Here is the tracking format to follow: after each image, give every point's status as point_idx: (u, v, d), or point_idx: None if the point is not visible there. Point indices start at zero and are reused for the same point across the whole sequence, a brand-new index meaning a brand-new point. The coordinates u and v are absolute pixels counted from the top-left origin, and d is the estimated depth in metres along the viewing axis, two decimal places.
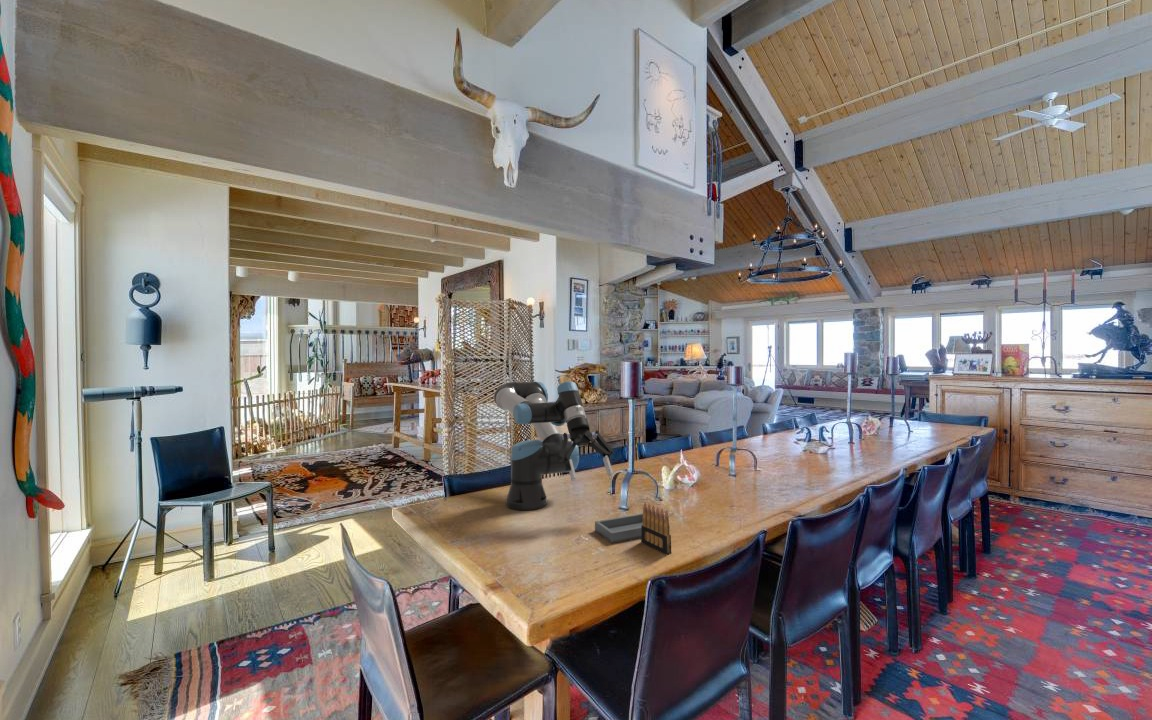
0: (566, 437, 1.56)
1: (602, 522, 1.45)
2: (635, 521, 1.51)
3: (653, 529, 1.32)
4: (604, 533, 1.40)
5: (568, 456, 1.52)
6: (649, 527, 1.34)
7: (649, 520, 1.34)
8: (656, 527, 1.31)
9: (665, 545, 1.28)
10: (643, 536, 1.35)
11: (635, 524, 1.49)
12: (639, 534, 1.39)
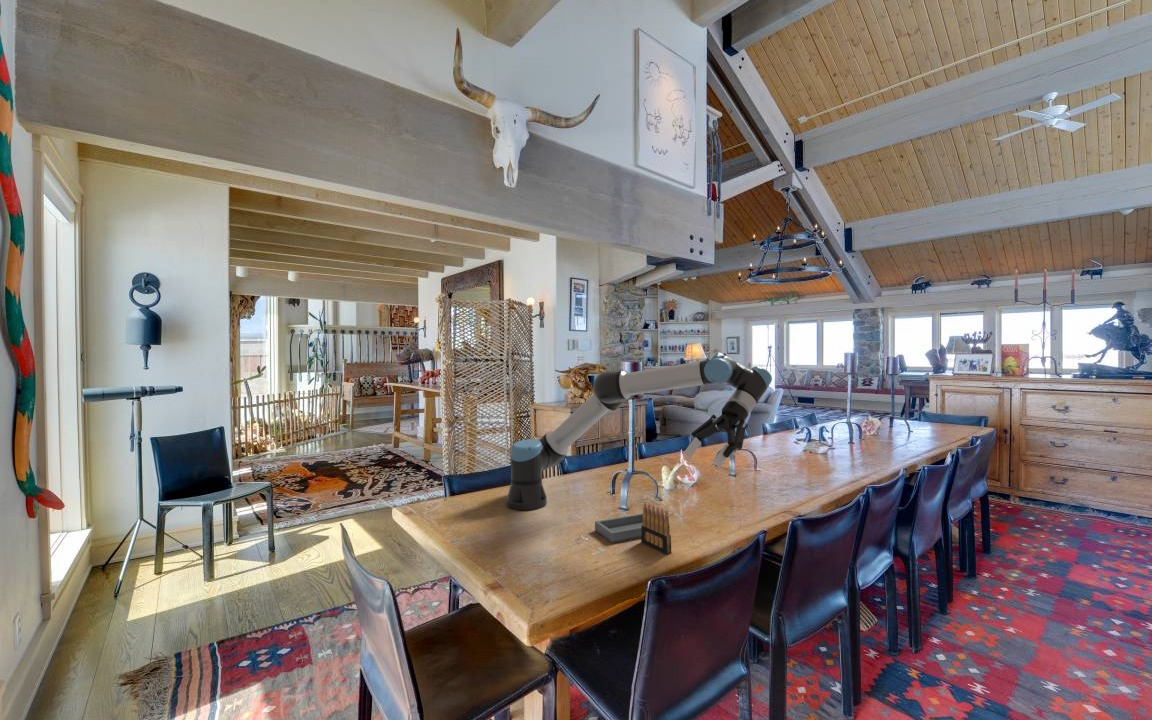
0: None
1: (602, 522, 1.45)
2: (635, 521, 1.51)
3: (653, 529, 1.32)
4: (604, 533, 1.40)
5: None
6: (649, 527, 1.34)
7: (649, 520, 1.34)
8: (656, 527, 1.31)
9: (665, 545, 1.28)
10: (643, 536, 1.35)
11: (635, 524, 1.49)
12: (639, 534, 1.39)
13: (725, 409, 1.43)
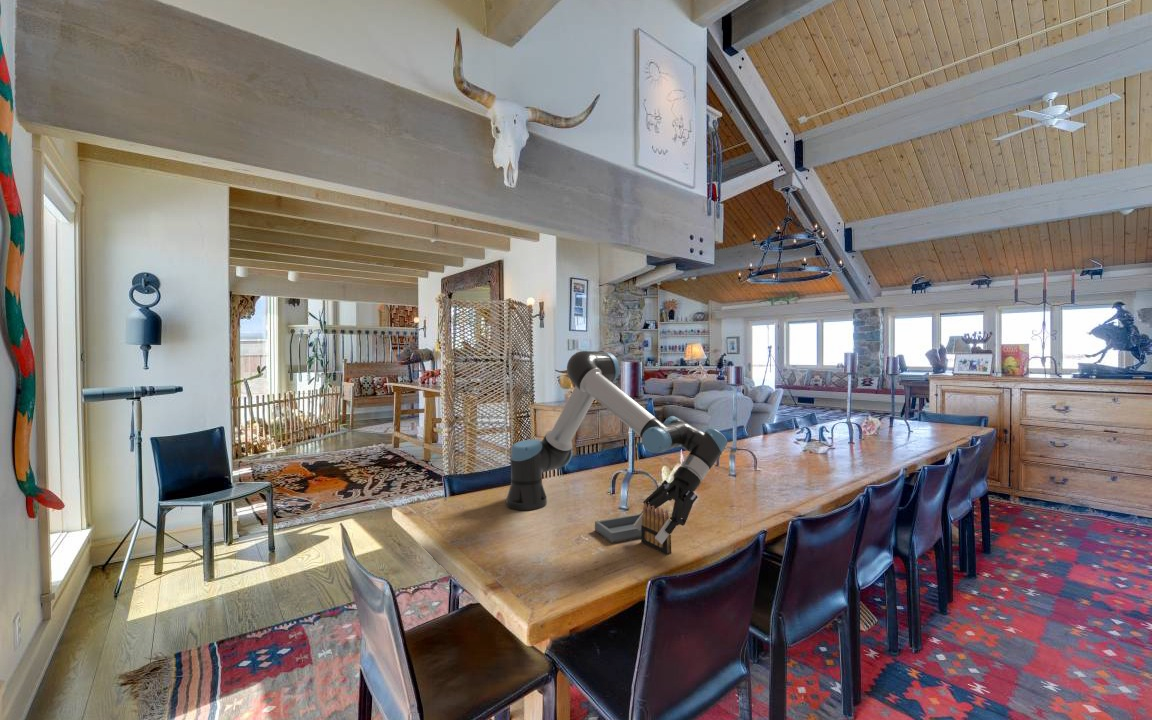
0: None
1: (602, 522, 1.45)
2: (635, 521, 1.51)
3: (653, 529, 1.32)
4: (604, 533, 1.40)
5: None
6: (649, 527, 1.34)
7: (649, 520, 1.34)
8: (656, 527, 1.31)
9: (665, 545, 1.28)
10: (643, 536, 1.35)
11: None
12: (639, 534, 1.39)
13: (676, 476, 1.36)
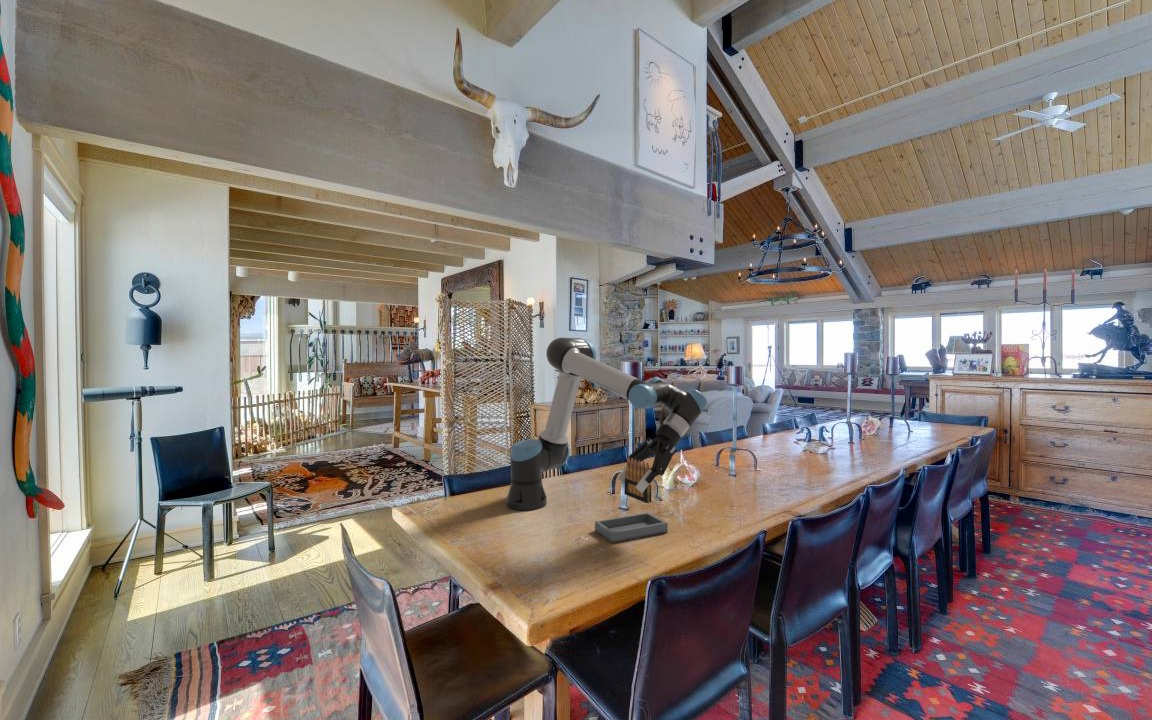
0: None
1: (602, 522, 1.45)
2: (635, 521, 1.51)
3: (635, 480, 1.41)
4: (604, 533, 1.40)
5: None
6: (632, 479, 1.43)
7: (632, 472, 1.43)
8: (638, 478, 1.40)
9: (646, 494, 1.37)
10: (626, 488, 1.44)
11: (635, 524, 1.49)
12: (639, 534, 1.39)
13: (658, 432, 1.44)
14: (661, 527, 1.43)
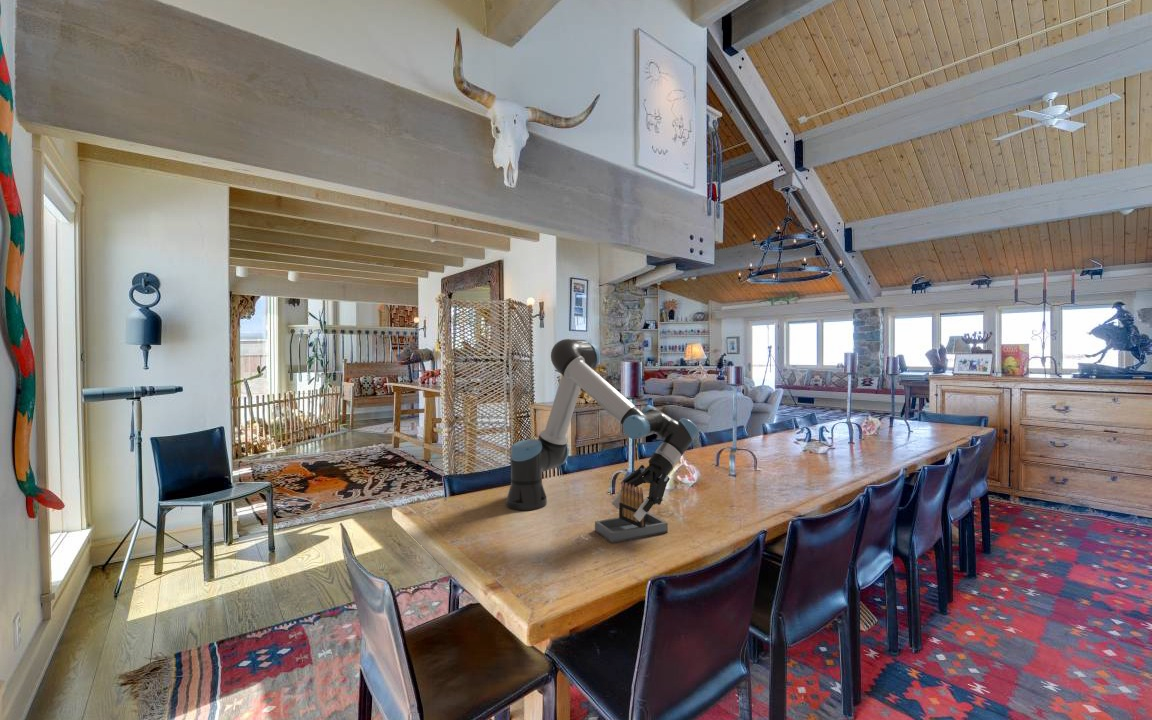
0: None
1: (602, 522, 1.45)
2: None
3: (629, 505, 1.44)
4: (604, 533, 1.40)
5: None
6: (626, 503, 1.46)
7: (626, 497, 1.46)
8: (632, 503, 1.43)
9: None
10: (621, 512, 1.48)
11: None
12: (639, 534, 1.39)
13: (651, 461, 1.48)
14: (661, 527, 1.43)
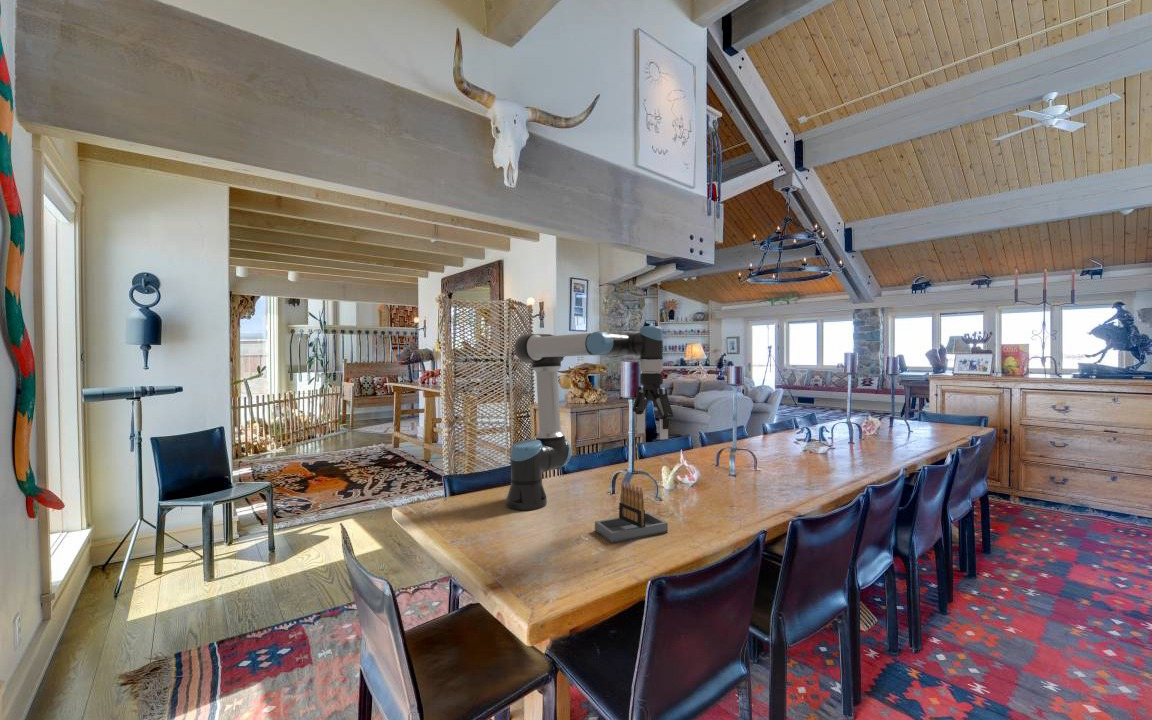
0: None
1: (602, 522, 1.45)
2: None
3: (629, 505, 1.44)
4: (604, 533, 1.40)
5: None
6: (626, 503, 1.46)
7: (626, 497, 1.46)
8: (632, 503, 1.43)
9: (640, 519, 1.40)
10: (621, 512, 1.48)
11: None
12: (639, 534, 1.39)
13: None
14: (661, 527, 1.43)
